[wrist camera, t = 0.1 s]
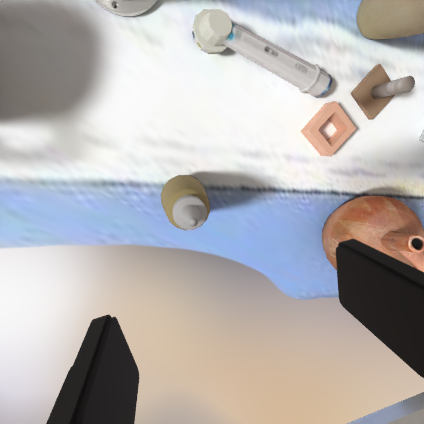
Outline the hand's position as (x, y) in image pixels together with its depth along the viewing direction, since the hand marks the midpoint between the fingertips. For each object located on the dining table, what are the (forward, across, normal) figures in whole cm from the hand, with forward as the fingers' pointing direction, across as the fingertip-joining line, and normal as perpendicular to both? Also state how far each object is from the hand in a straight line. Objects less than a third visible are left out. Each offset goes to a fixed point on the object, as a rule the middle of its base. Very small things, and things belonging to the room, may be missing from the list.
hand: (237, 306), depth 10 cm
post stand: (+37, -42, -8) cm, 56 cm away
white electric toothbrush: (+38, -19, -17) cm, 46 cm away
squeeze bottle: (+38, 0, +2) cm, 38 cm away
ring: (+37, -30, -3) cm, 48 cm away
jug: (+38, -34, +20) cm, 54 cm away
